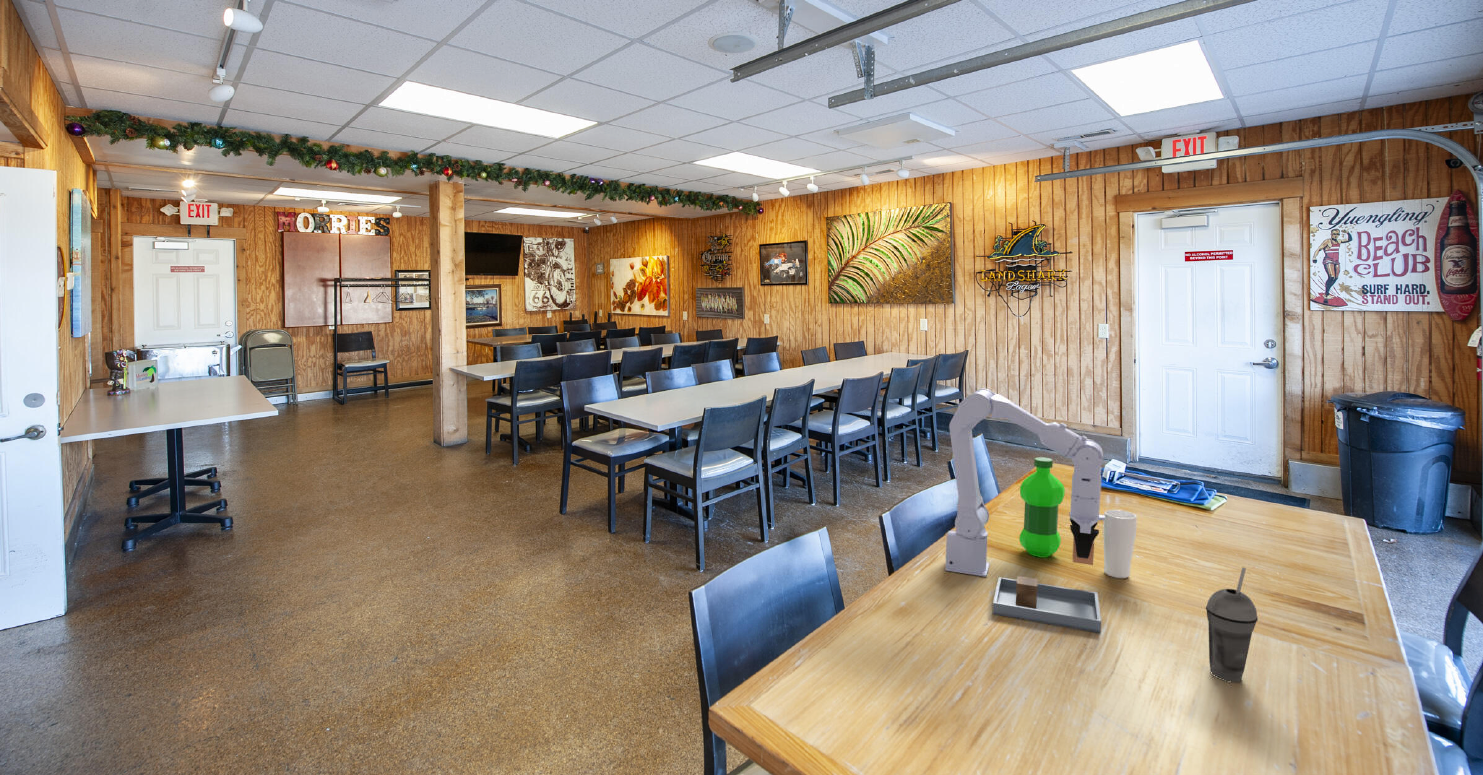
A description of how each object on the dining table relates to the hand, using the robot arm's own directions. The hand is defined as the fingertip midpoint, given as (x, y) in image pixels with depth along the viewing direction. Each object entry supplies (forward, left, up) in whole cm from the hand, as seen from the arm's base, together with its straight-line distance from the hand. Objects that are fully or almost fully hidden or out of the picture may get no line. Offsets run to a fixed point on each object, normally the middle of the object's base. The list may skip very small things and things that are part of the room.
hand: (1082, 553), depth 149 cm
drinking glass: (+8, +12, -9) cm, 17 cm away
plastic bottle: (-9, +19, -9) cm, 23 cm away
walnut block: (-11, -14, -8) cm, 19 cm away
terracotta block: (0, 0, -2) cm, 2 cm away
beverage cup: (+22, -28, -9) cm, 37 cm away
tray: (-7, -14, -8) cm, 17 cm away
